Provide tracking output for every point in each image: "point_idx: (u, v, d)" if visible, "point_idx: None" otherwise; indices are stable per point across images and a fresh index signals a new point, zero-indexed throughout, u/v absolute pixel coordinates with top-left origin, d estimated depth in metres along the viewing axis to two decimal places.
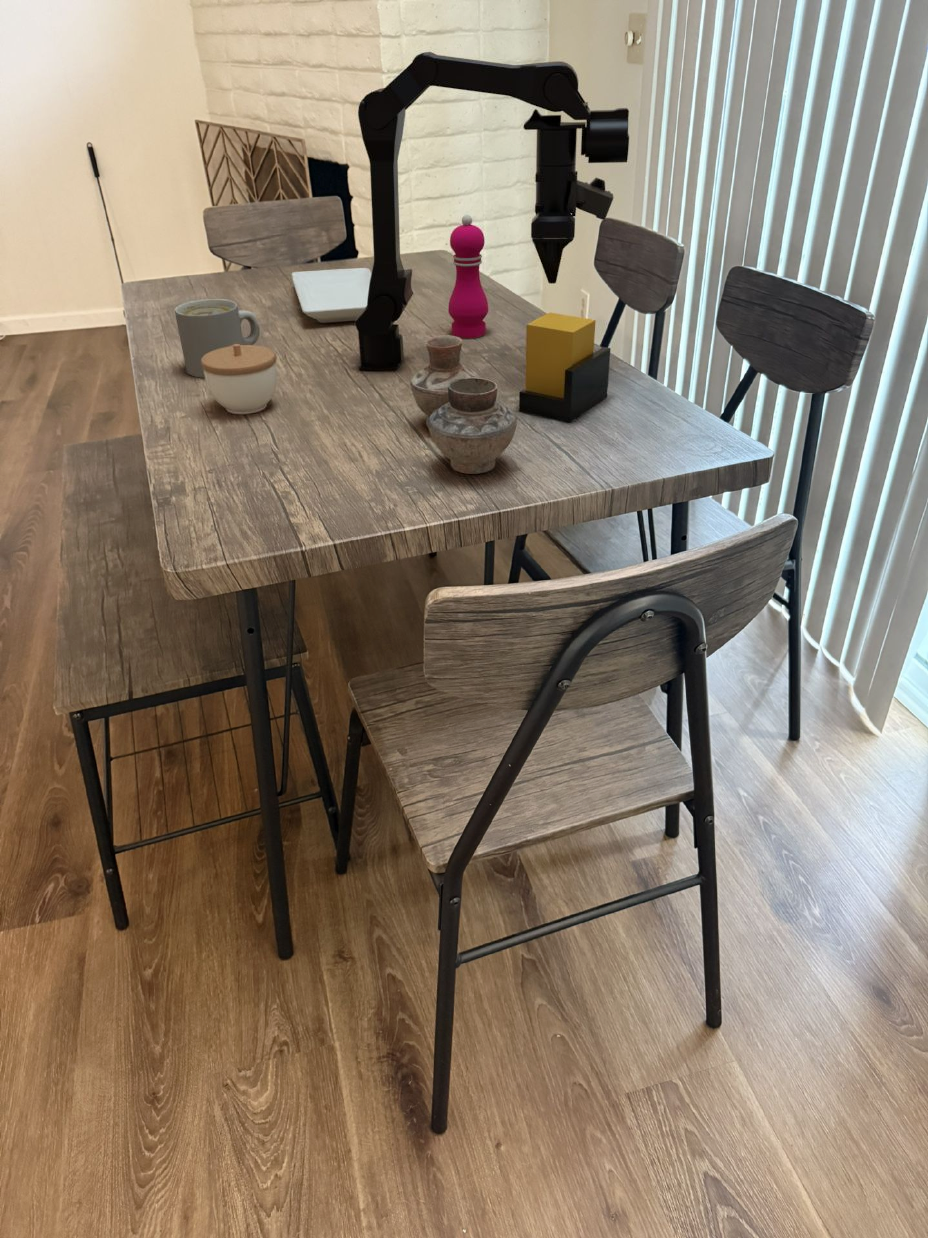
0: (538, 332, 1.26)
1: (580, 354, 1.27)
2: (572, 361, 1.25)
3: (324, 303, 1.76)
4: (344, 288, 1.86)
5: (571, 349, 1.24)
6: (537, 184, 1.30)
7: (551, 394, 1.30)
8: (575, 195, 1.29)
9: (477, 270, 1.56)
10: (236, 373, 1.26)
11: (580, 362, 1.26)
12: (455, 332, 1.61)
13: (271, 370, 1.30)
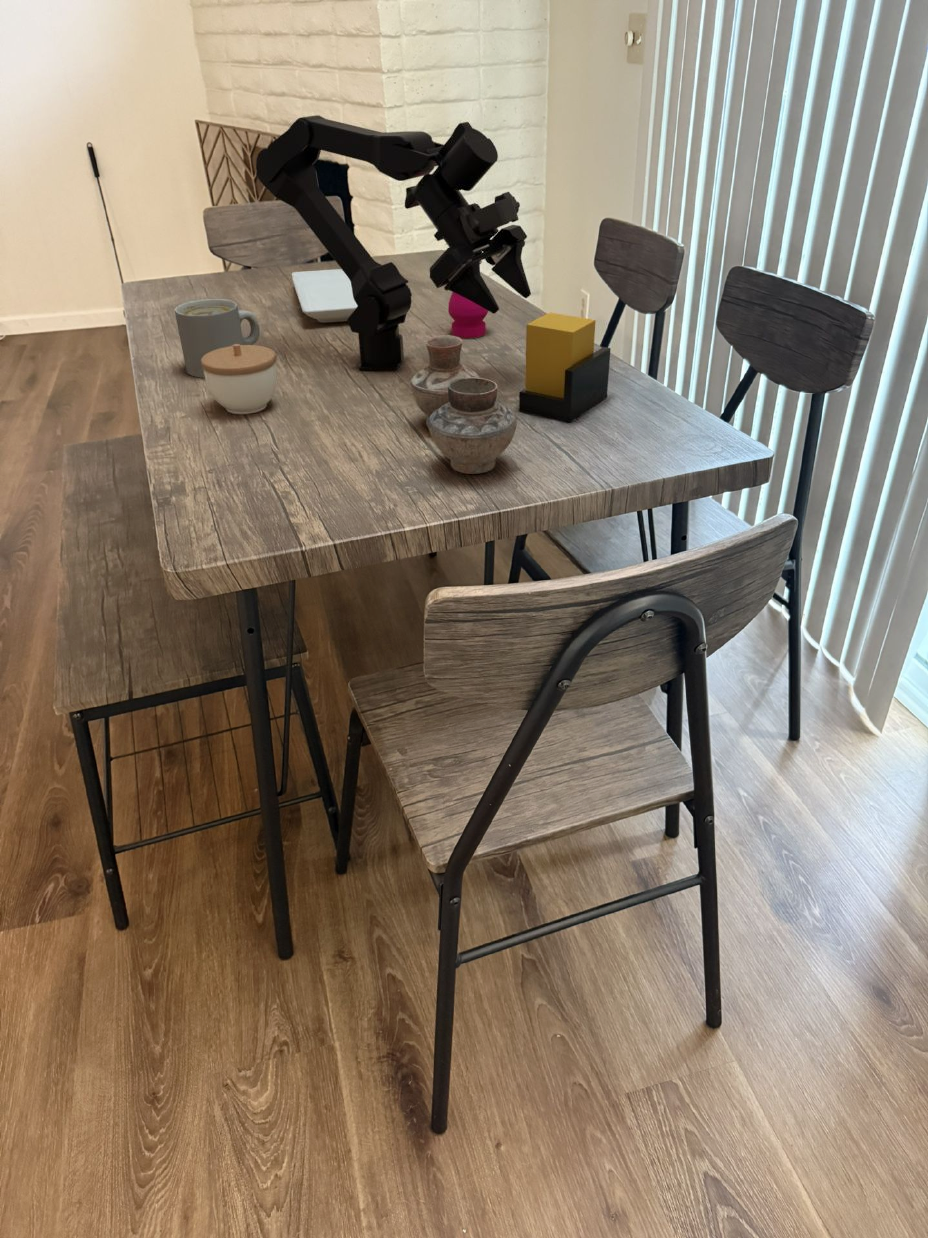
0: (538, 332, 1.26)
1: (580, 354, 1.27)
2: (572, 361, 1.25)
3: (324, 303, 1.76)
4: (344, 288, 1.86)
5: (571, 349, 1.24)
6: None
7: (551, 394, 1.30)
8: (467, 225, 1.25)
9: None
10: (236, 373, 1.26)
11: (580, 362, 1.26)
12: (455, 332, 1.61)
13: (271, 370, 1.30)
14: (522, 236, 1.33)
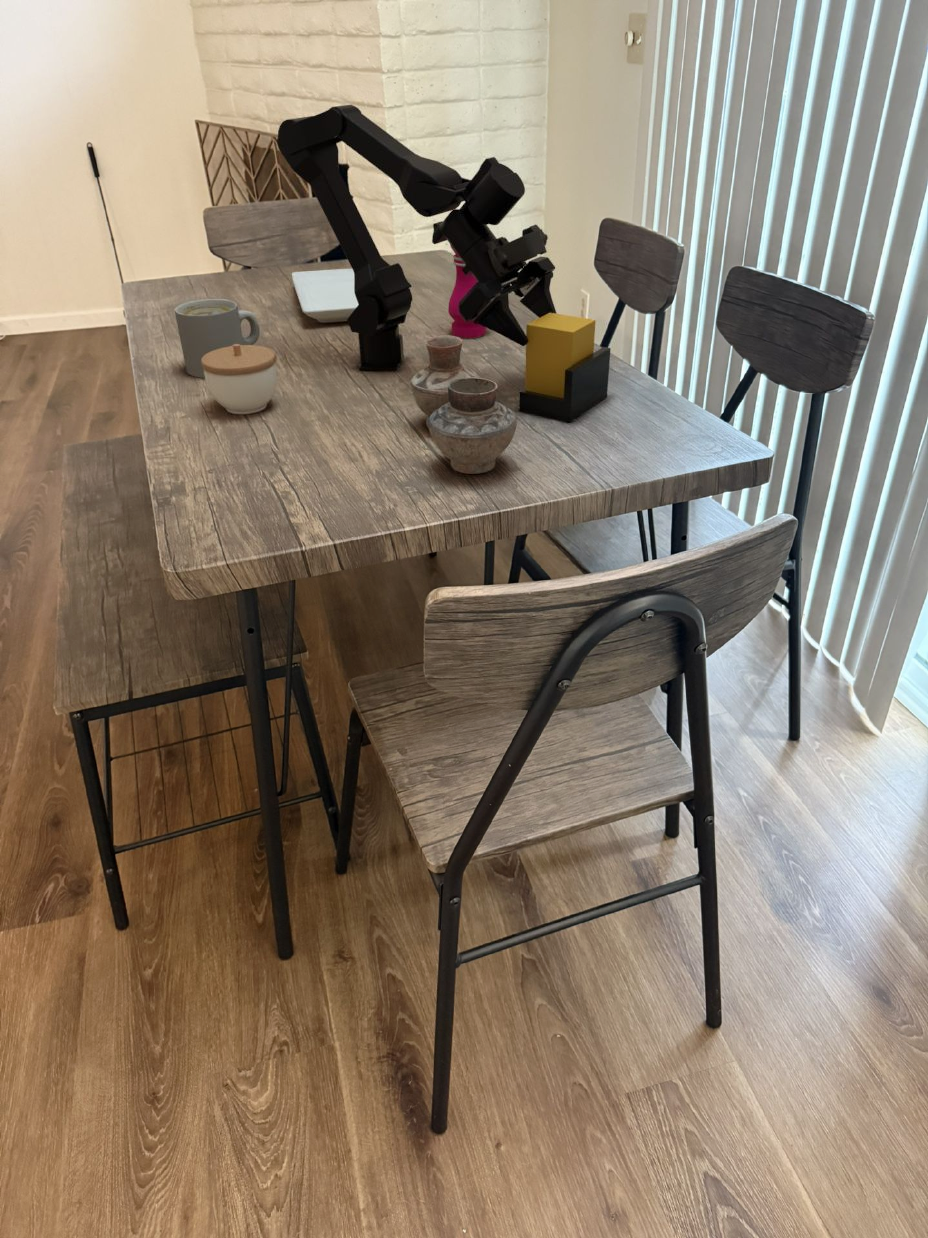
0: (538, 332, 1.26)
1: (580, 354, 1.27)
2: (572, 361, 1.25)
3: (324, 303, 1.76)
4: (344, 288, 1.86)
5: (571, 349, 1.24)
6: None
7: (551, 394, 1.30)
8: (495, 259, 1.25)
9: None
10: (236, 373, 1.26)
11: (580, 362, 1.26)
12: (455, 332, 1.61)
13: (271, 370, 1.30)
14: (550, 268, 1.32)
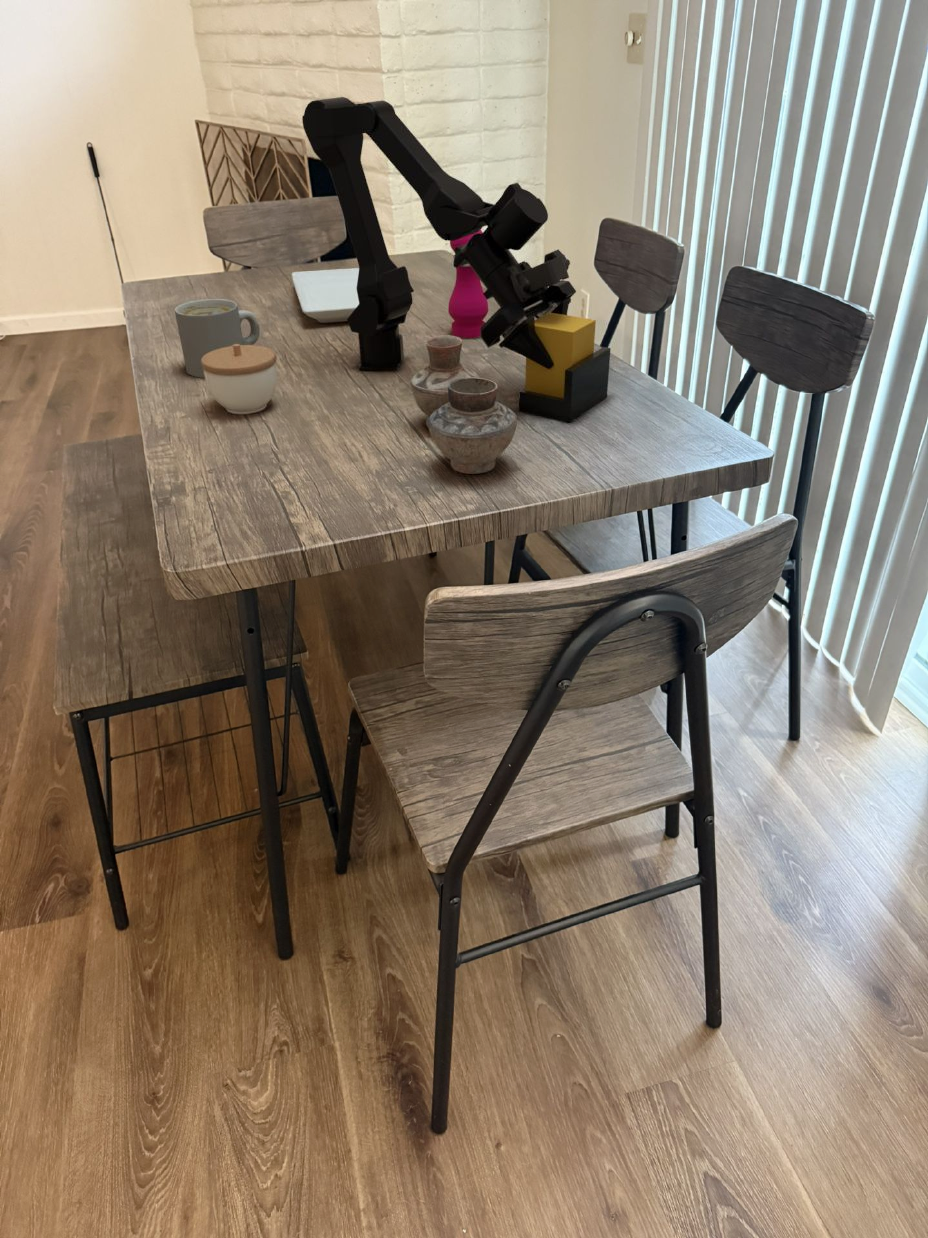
0: (539, 332, 1.26)
1: (581, 354, 1.27)
2: (572, 361, 1.25)
3: (324, 303, 1.76)
4: (344, 288, 1.86)
5: (571, 349, 1.24)
6: None
7: (551, 394, 1.30)
8: (517, 284, 1.25)
9: None
10: (236, 373, 1.26)
11: (580, 362, 1.26)
12: (455, 332, 1.61)
13: (271, 370, 1.30)
14: (571, 292, 1.32)
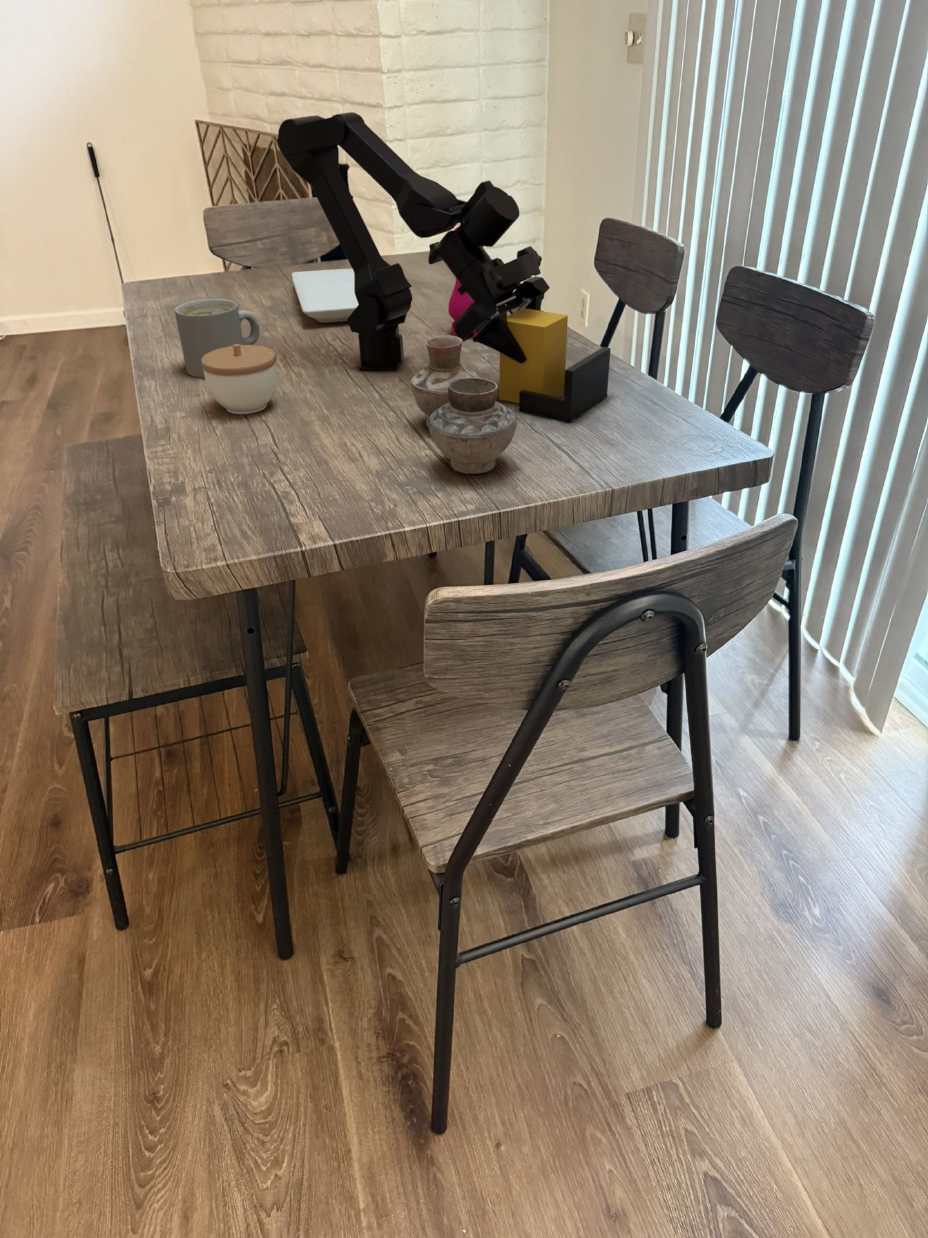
0: (511, 327, 1.28)
1: (553, 349, 1.29)
2: (544, 356, 1.27)
3: (324, 303, 1.76)
4: (344, 288, 1.86)
5: (543, 344, 1.26)
6: (469, 295, 1.32)
7: (525, 388, 1.32)
8: (490, 280, 1.27)
9: None
10: (236, 373, 1.26)
11: (580, 362, 1.26)
12: None
13: (271, 370, 1.30)
14: (545, 288, 1.34)
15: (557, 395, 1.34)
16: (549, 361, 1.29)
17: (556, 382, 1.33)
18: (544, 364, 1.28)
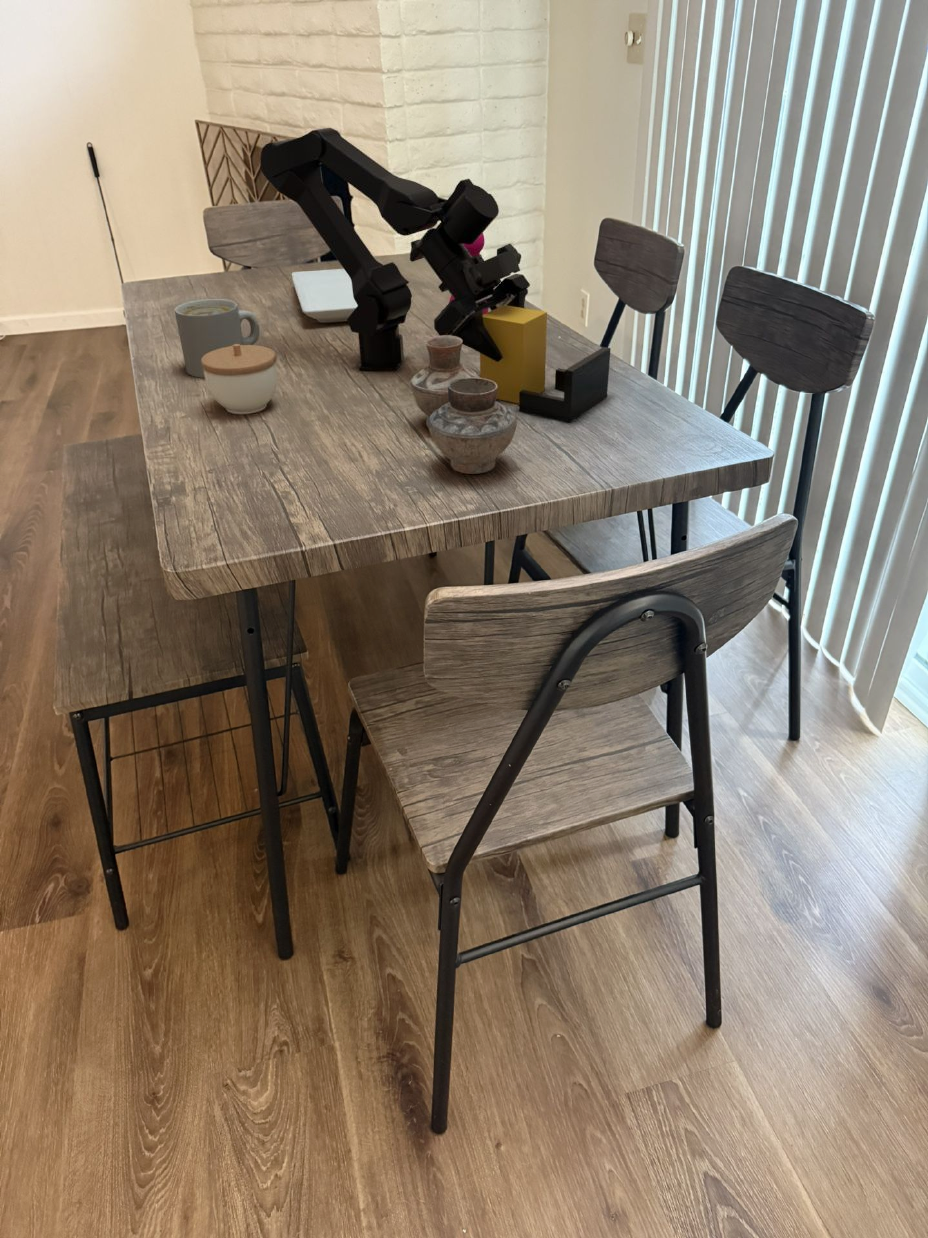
0: (491, 324, 1.30)
1: (532, 345, 1.31)
2: (523, 352, 1.29)
3: (324, 303, 1.76)
4: (344, 288, 1.86)
5: (522, 340, 1.28)
6: None
7: (505, 384, 1.33)
8: (470, 277, 1.28)
9: None
10: (236, 373, 1.26)
11: (580, 362, 1.26)
12: None
13: (271, 370, 1.30)
14: (525, 285, 1.36)
15: (537, 391, 1.36)
16: (529, 357, 1.31)
17: (536, 378, 1.35)
18: (523, 360, 1.30)
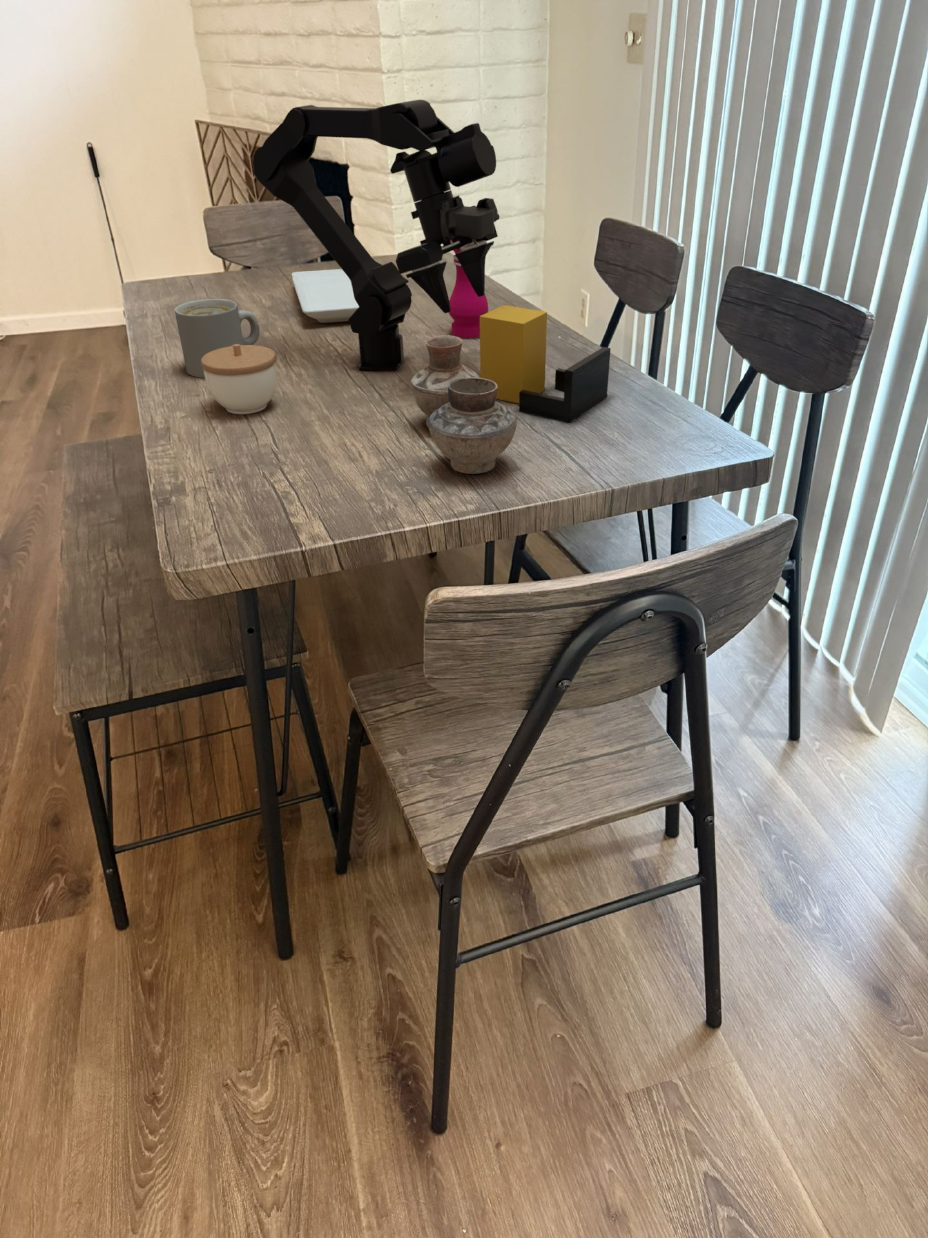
0: (491, 324, 1.30)
1: (532, 345, 1.31)
2: (523, 352, 1.29)
3: (324, 303, 1.76)
4: (344, 288, 1.86)
5: (522, 340, 1.28)
6: None
7: (505, 384, 1.33)
8: (444, 222, 1.28)
9: None
10: (236, 373, 1.26)
11: (580, 362, 1.26)
12: (455, 332, 1.61)
13: (271, 370, 1.30)
14: (493, 236, 1.36)
15: (537, 391, 1.36)
16: (529, 357, 1.31)
17: (536, 378, 1.35)
18: (523, 360, 1.30)
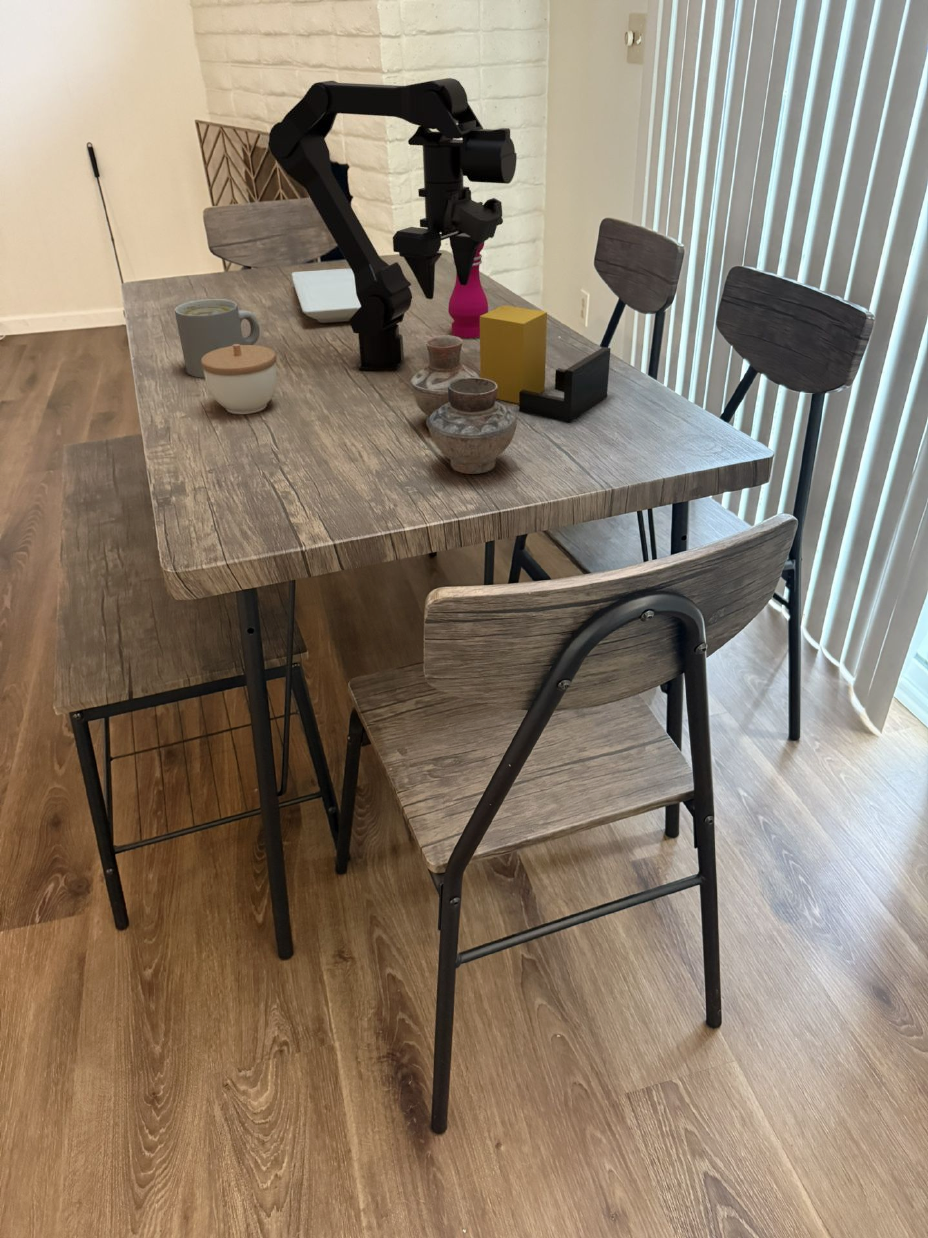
0: (491, 324, 1.30)
1: (532, 345, 1.31)
2: (523, 352, 1.29)
3: (324, 303, 1.76)
4: (344, 288, 1.86)
5: (522, 340, 1.28)
6: None
7: (505, 384, 1.33)
8: (450, 214, 1.28)
9: (477, 270, 1.56)
10: (236, 373, 1.26)
11: (580, 362, 1.26)
12: (455, 332, 1.61)
13: (271, 370, 1.30)
14: None
15: (537, 391, 1.36)
16: (529, 357, 1.31)
17: (536, 378, 1.35)
18: (523, 360, 1.30)
